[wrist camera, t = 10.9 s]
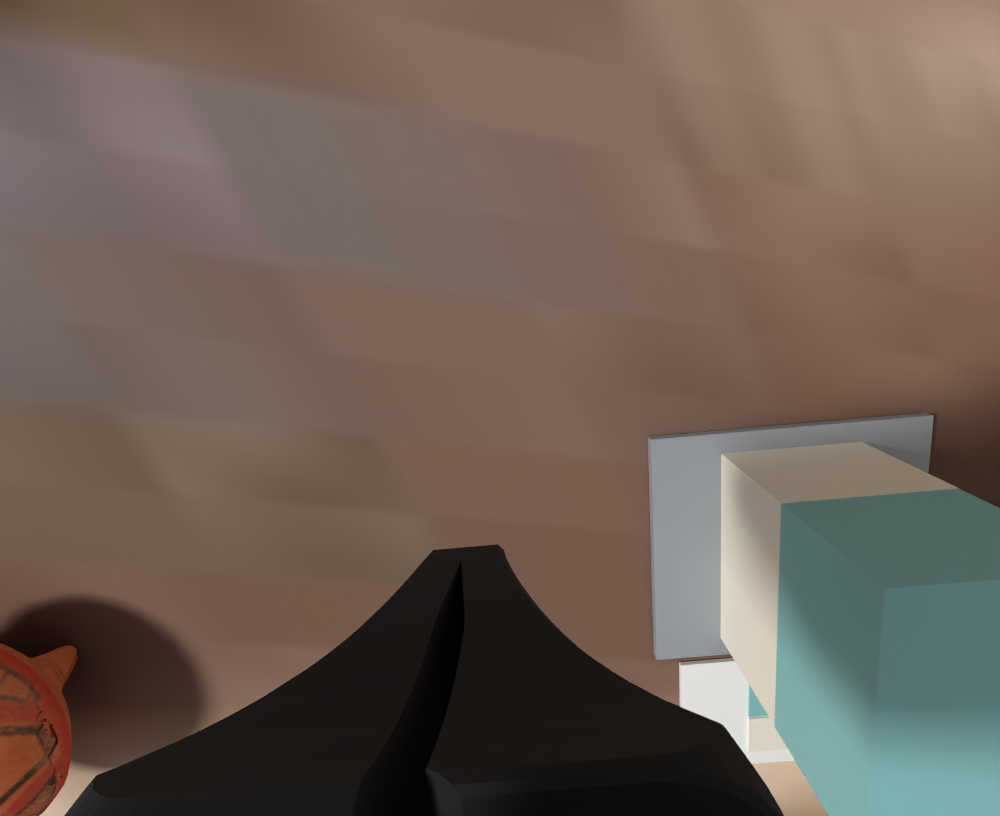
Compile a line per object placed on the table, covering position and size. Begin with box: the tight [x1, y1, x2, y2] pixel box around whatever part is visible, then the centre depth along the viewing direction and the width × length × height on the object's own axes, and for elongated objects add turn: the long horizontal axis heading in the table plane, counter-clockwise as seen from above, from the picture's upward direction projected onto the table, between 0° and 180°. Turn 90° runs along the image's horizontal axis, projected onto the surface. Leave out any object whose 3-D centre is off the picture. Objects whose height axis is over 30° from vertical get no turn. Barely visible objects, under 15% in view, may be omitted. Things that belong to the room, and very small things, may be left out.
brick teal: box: [774, 488, 1000, 816], centre depth 15 cm, size 8×5×4 cm, turn 5°
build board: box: [648, 413, 934, 660], centre depth 22 cm, size 9×10×1 cm
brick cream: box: [721, 442, 958, 724], centre depth 20 cm, size 8×5×4 cm, turn 5°
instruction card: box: [679, 658, 795, 764], centre depth 24 cm, size 5×8×1 cm, turn 95°
